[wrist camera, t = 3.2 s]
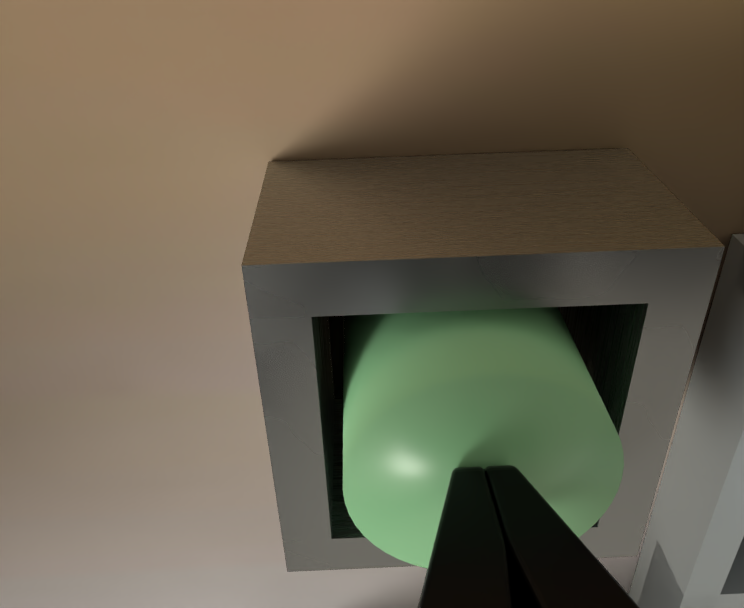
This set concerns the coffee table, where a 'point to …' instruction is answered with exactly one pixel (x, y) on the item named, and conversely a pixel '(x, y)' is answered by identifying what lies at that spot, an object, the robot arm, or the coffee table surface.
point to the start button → (468, 418)
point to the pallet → (704, 471)
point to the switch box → (470, 303)
